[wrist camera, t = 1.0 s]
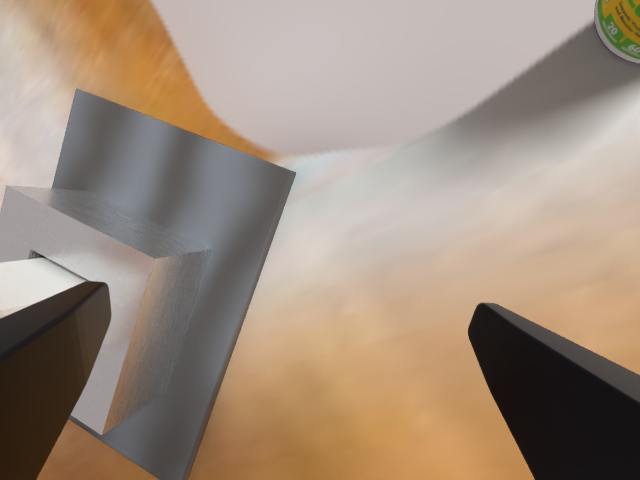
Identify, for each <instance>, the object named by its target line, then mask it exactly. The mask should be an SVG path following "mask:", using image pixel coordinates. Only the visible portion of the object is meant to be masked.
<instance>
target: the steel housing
mask: <svg viewBox="0 0 640 480" xmlns="http://www.w3.org/2000/svg"><path fill="white" fill-rule="evenodd" d="M212 251H213V249H212V248H210V247H208V246H205V245H203V244H201V243H199V242H197V241H195V240H193V239H190V238H188V237H186V236H184V235H182V234H180V233H177V232H175V231H173V230H171V229H169V228H167V227H165V226H162V225H160V224H158V223H156V222H154V221H152V220H150V219H147V218H145V217H143V216H141V215H139V214H137V213H135V212H132V211H130V210H128V209H126V208H124V207H122V206H119V205H117V204H115V203H113V202H111V201H109V200H107V199H104V198H102V197H100V196H98V195H96V194H94V193H92V192H89V191H82V190H67V189H52V188H37V187H22V186H7V185H6V189H5V194H4V199H3V203H2V208H1V212H0V263H2V262H10V261H19V260H28V259H36V258H45V257H47V258H48V259H50V260H52V261H54V262H56V263H58V264H60V265H61V266H63V267H65V268H67V269H69V270H71V271H73V272H74V273H76V274H78V275H80V276H82V277H84V278H86V279H87V280H89V281H98V282H105V283H107V284H108V287H109V293H110V303H111V313H112V315H111V322H110V325H109V328H108V330H107V333H106V335H105V338H104V341H103V343H102V346H101V348H100V351H99V353H98V356H97V359H96V361H95V364H94V366H93V369H92V372H91V374H90V377H89V379H88V381H87V384H86V386H85V388H84V390H83V392H82V394H81V396H80V398H79V400H78V402H77V403H76V405H75V407H74V409H73V411H72V413H71V416H73V417H75V418H76V419H78V420H79V421H81V422H82V423H84V424H85V425H87V426H88V427H90V428H91V429H93V430H94V431H96V432H97V433H99V434H100V435H103V434H104V433H106V432H107V431H109V430H110V429H112V428H113V427H115V426H116V425H118V424H119V423H120V422H122V421H123V420H125V419H126V418H128V417H129V416H131V415H132V414H134V413H135V412H137V411H138V410H140V409H141V408H142V407H144V406H145V405H147V404H148V403H150V402H151V401H153V400H154V399H156V398H157V397H159V396H160V395H162V394H163V393H164V392H166V391H167V388H168V385H169V382H170V379H171V376H172V373H173V370H174V367H175V364H176V361H177V357H178V354H179V351H180V348H181V345H182V342H183V339H184V336H185V333H186V330H187V327H188V324H189V321H190V318H191V315H192V312H193V309H194V306H195V303H196V299H197V296H198V293H199V290H200V287H201V284H202V281H203V278H204V275H205V272H206V269H207V266H208V263H209V260H210V257H211V254H212Z"/></svg>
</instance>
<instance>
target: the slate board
mask: <svg viewBox="0 0 640 480" xmlns="http://www.w3.org/2000/svg"><path fill="white" fill-rule="evenodd" d="M295 175H296V172H293V171H291V170H288V169H285V168H283V167H280V166H278V165H275V164H272V163H270V162H267V161H265V160H262V159H259V158H257V157H254V156H252V155H249V154H246V153H244V152H241V151H239V150H236V149H233V148H231V147H228V146H226V145H223V144H220V143H218V142H215V141H213V140H210V139H207V138H205V137H202V136H200V135H197V134H194V133H192V132H189V131H187V130H184V129H181V128H179V127H176V126H174V125H171V124H168V123H166V122H163V121H161V120H158V119H155V118H153V117H150V116H148V115H145V114H142V113H140V112H137V111H135V110H132V109H129V108H127V107H124V106H122V105H119V104H116V103H114V102H111V101H108V100H106V99H103V98H101V97H98V96H95V95H93V94H90V93H88V92H85V91H82V90H79V89H76V91H75V95H74V99H73V103H72V107H71V111H70V116H69V120H68V124H67V128H66V132H65V136H64V140H63V145H62V149H61V153H60V157H59V161H58V165H57V169H56V174H55V178H54V182H53V186H52V189H67V190H82V191H89V192H92V193H94V194H96V195H98V196H100V197H102V198H104V199H107V200H109V201H111V202H113V203H115V204H117V205H119V206H122V207H124V208H126V209H128V210H130V211H132V212H135V213H137V214H139V215H141V216H143V217H145V218H147V219H150V220H152V221H154V222H156V223H158V224H160V225H162V226H165V227H167V228H169V229H171V230H173V231H175V232H177V233H180V234H182V235H184V236H186V237H188V238H190V239H193V240H195V241H197V242H199V243H201V244H203V245H205V246H208V247H210V248H212V249H213V251H212V254H211V257H210V260H209V263H208V266H207V269H206V272H205V275H204V278H203V281H202V284H201V287H200V290H199V293H198V296H197V299H196V303H195V306H194V309H193V312H192V315H191V318H190V321H189V324H188V327H187V330H186V333H185V336H184V339H183V342H182V345H181V348H180V351H179V354H178V357H177V361H176V364H175V367H174V370H173V373H172V376H171V379H170V382H169V385H168V388H167V391H166V392H164V393H163V394H162V395H160V396H159V397H157V398H156V399H154V400H153V401H151V402H150V403H148V404H147V405H145V406H144V407H142V408H141V409H140V410H138V411H137V412H135V413H134V414H132V415H131V416H129V417H128V418H126V419H125V420H123V421H122V422H120V423H119V424H118V425H116V426H115V427H113V428H112V429H110V430H109V431H107V432H106V433H104V434H103V435H100V434H99V433H97V432H96V431H94V430H93V429H91V428H90V427H88V426H87V425H85V424H84V423H82V422H81V421H79V420H78V419H76V418H75V417H73V416H71V415H70V417H69V419H70V420H71V421H73V422H74V423H76V424H77V425H79V426H80V427H82V428H83V429H85V430H86V431H88V432H89V433H91V434H92V435H94V436H95V437H97V438H98V439H100V440H101V441H103V442H104V443H106V444H107V445H109V446H110V447H112V448H113V449H115V450H116V451H118V452H119V453H121V454H122V455H124V456H125V457H127V458H128V459H130V460H131V461H133V462H134V463H136V464H137V465H139V466H140V467H142V468H143V469H145V470H146V471H148V472H149V473H151V474H152V475H154V476H155V477H157V478H158V479H160V480H187V479H188V476H189V474H190V471H191V468H192V465H193V462H194V459H195V457H196V454H197V451H198V448H199V445H200V443H201V440H202V437H203V434H204V431H205V428H206V426H207V423H208V420H209V417H210V414H211V412H212V409H213V406H214V403H215V400H216V397H217V395H218V392H219V389H220V386H221V383H222V381H223V378H224V375H225V372H226V369H227V366H228V364H229V361H230V358H231V355H232V352H233V350H234V347H235V344H236V341H237V338H238V335H239V333H240V330H241V327H242V324H243V321H244V319H245V316H246V313H247V310H248V307H249V304H250V302H251V299H252V296H253V293H254V290H255V288H256V285H257V282H258V279H259V276H260V273H261V271H262V268H263V265H264V262H265V259H266V257H267V254H268V251H269V248H270V245H271V242H272V240H273V237H274V234H275V231H276V228H277V226H278V223H279V220H280V217H281V214H282V211H283V209H284V206H285V203H286V200H287V197H288V195H289V192H290V189H291V186H292V183H293V180H294V178H295Z"/></svg>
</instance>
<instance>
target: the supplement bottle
mask: <svg viewBox="0 0 640 480" xmlns="http://www.w3.org/2000/svg"><path fill="white" fill-rule="evenodd" d="M594 12H595V13H594V18H595V24H596V28H597V31H598V34H599V36H600V38H601V40H602V41H603V43H604V44H605V45H606V46H607V47H608V48H609V49H610V50H611V51H612V52H613V53H615V54H616V55H618V56H619V57H621V58H623V59H626V60H628V61H631V62H635V63H640V0H596V4H595V11H594Z"/></svg>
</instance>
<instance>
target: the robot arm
mask: <svg viewBox="0 0 640 480" xmlns="http://www.w3.org/2000/svg"><path fill="white" fill-rule="evenodd" d="M111 315H112V313H111V303H110V293H109V287H108V284H107V283H105V282H98V281H85V282H83V283H80V284H78V285H76V286H74V287H71V288H69V289H67V290H64V291H62V292H60V293H57V294H55V295H53V296H51V297H48V298H46V299H44V300H41V301H39V302H37V303H35V304H32V305H30V306H28V307H25V308H23V309H21V310H19V311H16V312H14V313H12V314H9V315H7V316H5V317H3V318H0V480H36V479H37V477H38V475H39V473H40V471H41V470H42V468H43V466H44V464H45V462H46V460H47V458H48V456H49V454H50V453H51V451H52V449H53V447H54V445H55V443H56V441H57V439H58V437H59V436H60V434H61V432H62V430H63V428H64V426H65V424H66V422H67V420H68V419H69V417H70V415H71V413H72V411H73V409H74V407H75V405H76V403H77V402H78V400H79V398H80V396H81V394H82V392H83V390H84V388H85V386H86V384H87V381H88V379H89V377H90V374H91V372H92V369H93V366H94V364H95V361H96V359H97V356H98V353H99V351H100V348H101V346H102V343H103V341H104V338H105V335H106V333H107V330H108V328H109V325H110V322H111ZM468 336H469V339H470V342H471V344H472V347H473V350H474V352H475V355H476V357H477V360H478V362H479V365H480V367H481V370H482V373H483V375H484V378H485V380H486V383H487V385H488V387H489V390H490V392H491V394H492V396H493V398H494V400H495V402H496V404H497V406H498V408H499V410H500V412H501V414H502V416H503V418H504V420H505V422H506V424H507V425H508V427H509V429H510V431H511V433H512V435H513V437H514V439H515V441H516V443H517V445H518V447H519V449H520V451H521V453H522V455H523V457H524V459H525V461H526V463H527V465H528V467H529V469H530V471H531V473H532V475H533V477H534V479H535V480H640V375H638V374H636V373H634V372H632V371H630V370H628V369H626V368H624V367H622V366H620V365H618V364H616V363H614V362H612V361H610V360H608V359H606V358H604V357H602V356H600V355H598V354H596V353H594V352H592V351H590V350H588V349H586V348H584V347H582V346H580V345H578V344H576V343H574V342H572V341H570V340H568V339H566V338H564V337H562V336H560V335H558V334H556V333H554V332H552V331H550V330H548V329H546V328H544V327H542V326H540V325H538V324H536V323H534V322H532V321H530V320H528V319H526V318H524V317H522V316H520V315H518V314H516V313H514V312H512V311H510V310H508V309H506V308H504V307H502V306H500V305H498V304H495V303H480V304H478V305H477V307H476V309H475V312H474V314H473V317H472V320H471V322H470V325H469V328H468Z"/></svg>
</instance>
